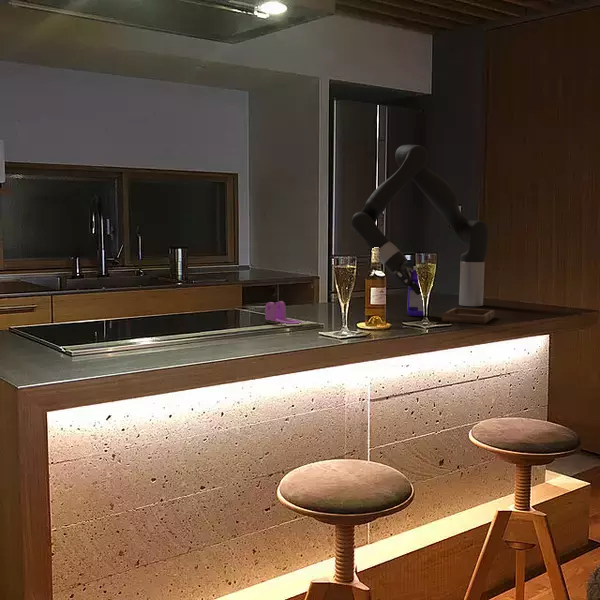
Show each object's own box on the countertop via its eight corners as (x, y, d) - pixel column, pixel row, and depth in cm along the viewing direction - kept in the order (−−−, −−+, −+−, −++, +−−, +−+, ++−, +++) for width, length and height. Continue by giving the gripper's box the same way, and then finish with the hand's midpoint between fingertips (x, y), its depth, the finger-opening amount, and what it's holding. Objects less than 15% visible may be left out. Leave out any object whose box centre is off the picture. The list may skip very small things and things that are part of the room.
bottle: (427, 315, 277) (428, 266, 275) (428, 317, 271) (430, 267, 269) (406, 314, 277) (408, 265, 275) (407, 316, 272) (408, 266, 270)
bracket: (265, 323, 253) (265, 301, 253) (278, 321, 257) (278, 300, 256) (291, 327, 244) (292, 305, 243) (305, 326, 248) (305, 304, 247)
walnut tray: (454, 314, 278) (454, 307, 278) (494, 317, 272) (494, 310, 272) (442, 321, 262) (442, 313, 261) (484, 323, 256) (484, 316, 256)
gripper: (392, 251, 268) (425, 287, 265) (404, 249, 281) (435, 283, 278) (377, 266, 271) (409, 301, 268) (390, 263, 284) (421, 297, 281)
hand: (422, 292), depth 273 cm, fingers closed on bottle, 6 cm apart
